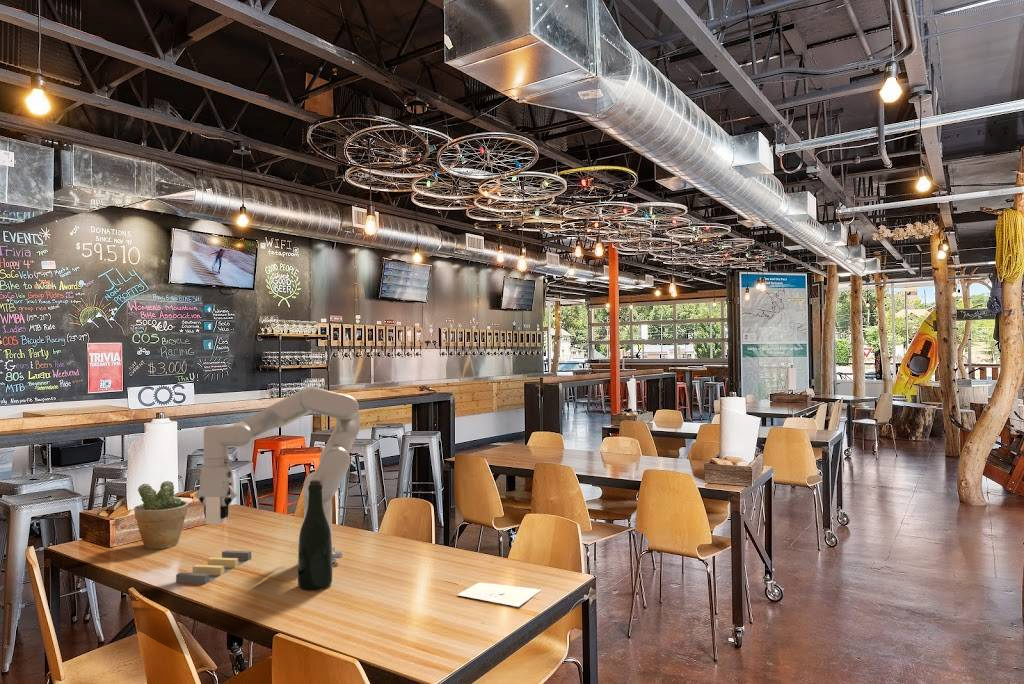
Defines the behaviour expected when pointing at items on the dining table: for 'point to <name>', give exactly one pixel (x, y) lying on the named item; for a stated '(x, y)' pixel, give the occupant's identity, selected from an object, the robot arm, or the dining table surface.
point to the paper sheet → (500, 593)
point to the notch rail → (211, 577)
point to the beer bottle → (315, 544)
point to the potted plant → (160, 516)
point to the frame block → (214, 511)
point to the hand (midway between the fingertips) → (216, 516)
